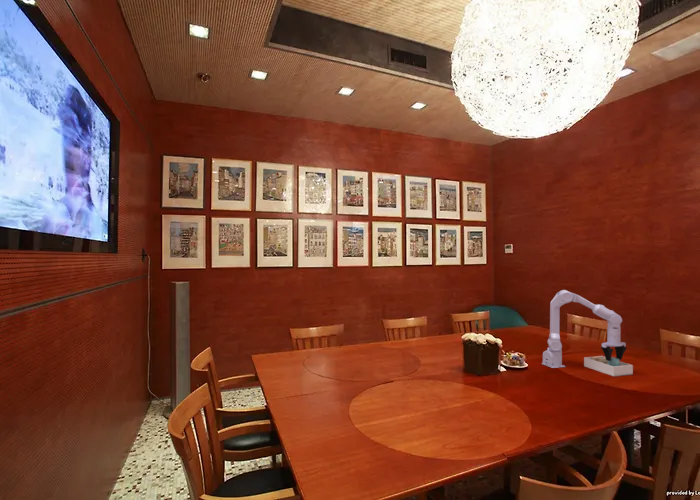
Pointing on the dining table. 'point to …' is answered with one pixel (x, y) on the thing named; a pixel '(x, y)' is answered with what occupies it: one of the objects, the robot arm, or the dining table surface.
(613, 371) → the tote
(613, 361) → the teal cylinder
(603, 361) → the beech cube
